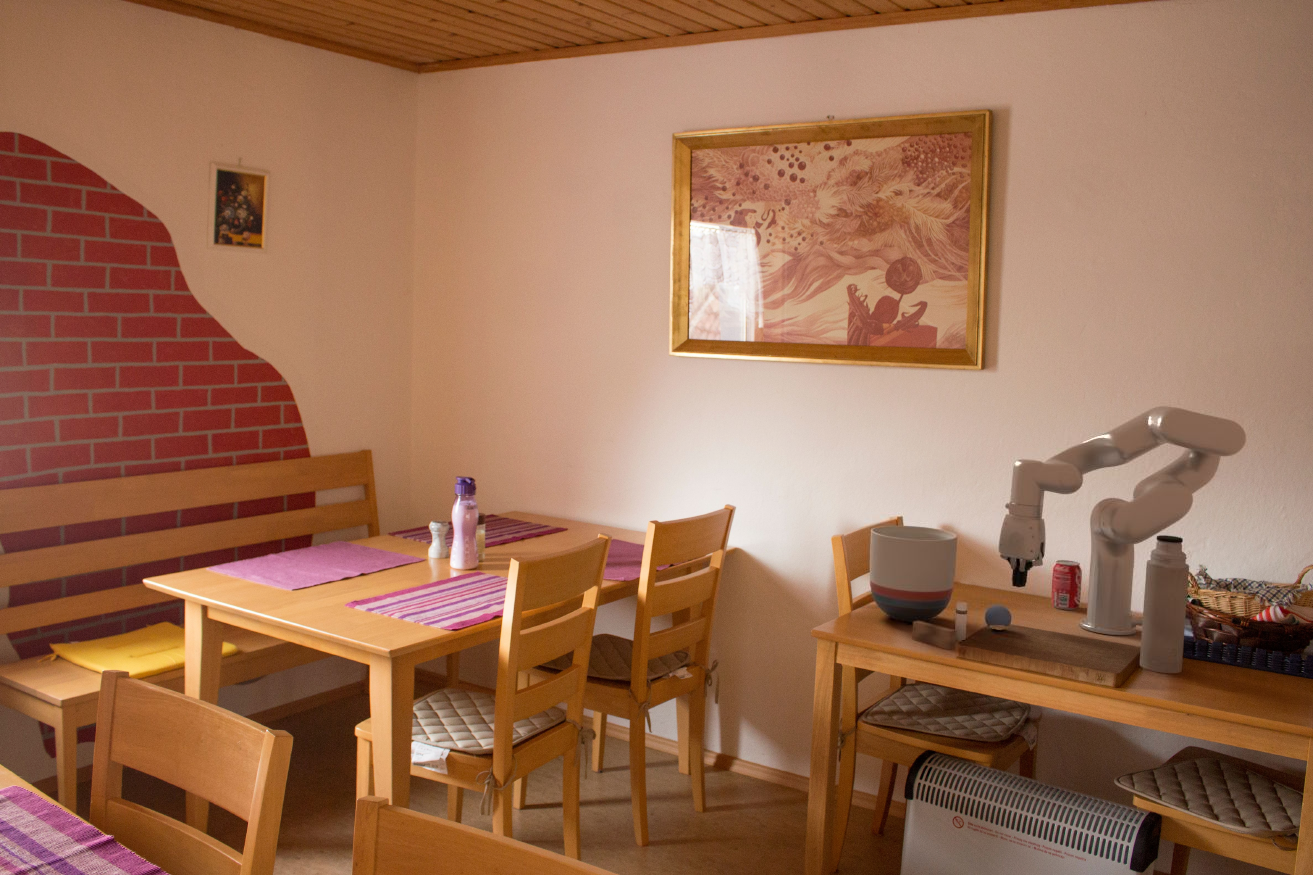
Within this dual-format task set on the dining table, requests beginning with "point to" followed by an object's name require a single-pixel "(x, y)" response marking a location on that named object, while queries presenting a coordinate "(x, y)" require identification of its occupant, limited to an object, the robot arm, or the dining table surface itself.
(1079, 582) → the soda can
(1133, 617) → the robot arm
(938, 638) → the stopper bar
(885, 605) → the planter
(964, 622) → the pin
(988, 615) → the ball
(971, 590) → the dining table surface
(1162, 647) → the thermos bottle
